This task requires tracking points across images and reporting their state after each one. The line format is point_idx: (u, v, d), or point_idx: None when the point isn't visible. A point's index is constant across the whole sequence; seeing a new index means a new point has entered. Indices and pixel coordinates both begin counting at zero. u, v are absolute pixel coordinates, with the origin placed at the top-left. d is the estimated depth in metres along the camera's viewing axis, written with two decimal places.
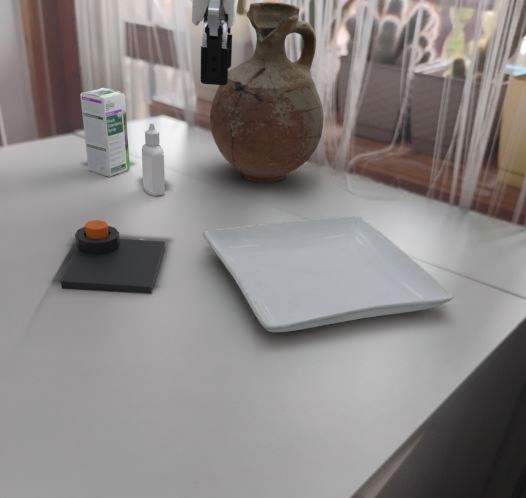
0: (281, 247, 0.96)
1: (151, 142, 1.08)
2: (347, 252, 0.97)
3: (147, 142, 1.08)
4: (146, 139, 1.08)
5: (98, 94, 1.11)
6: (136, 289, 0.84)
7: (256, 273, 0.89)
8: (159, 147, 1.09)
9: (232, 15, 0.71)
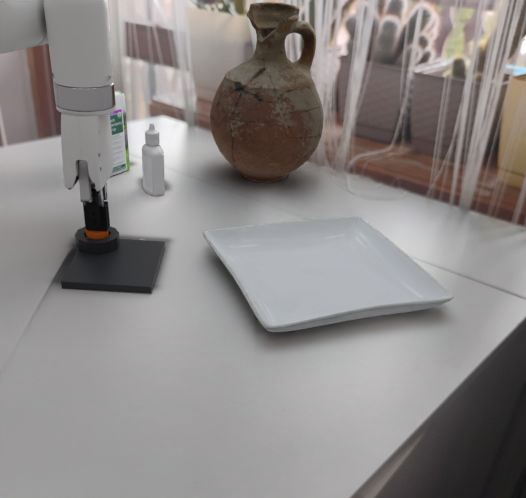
0: (281, 247, 0.96)
1: (151, 142, 1.08)
2: (347, 252, 0.97)
3: (147, 142, 1.08)
4: (146, 139, 1.08)
5: None
6: (136, 289, 0.84)
7: (256, 273, 0.89)
8: (159, 147, 1.09)
9: (98, 183, 0.83)
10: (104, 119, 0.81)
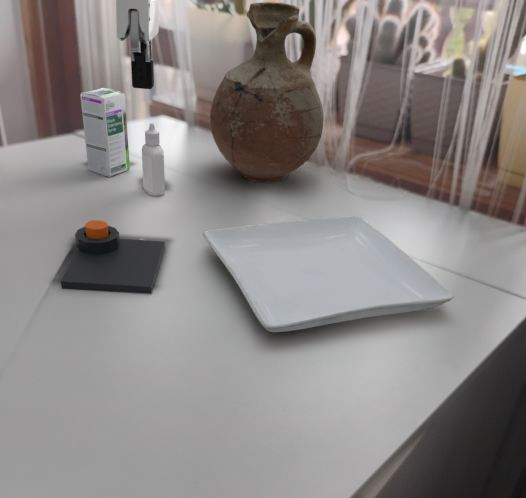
0: (281, 247, 0.96)
1: (151, 142, 1.08)
2: (347, 252, 0.97)
3: (147, 142, 1.08)
4: (146, 139, 1.08)
5: (98, 94, 1.11)
6: (136, 289, 0.84)
7: (256, 273, 0.89)
8: (159, 147, 1.09)
9: (147, 33, 0.92)
10: None
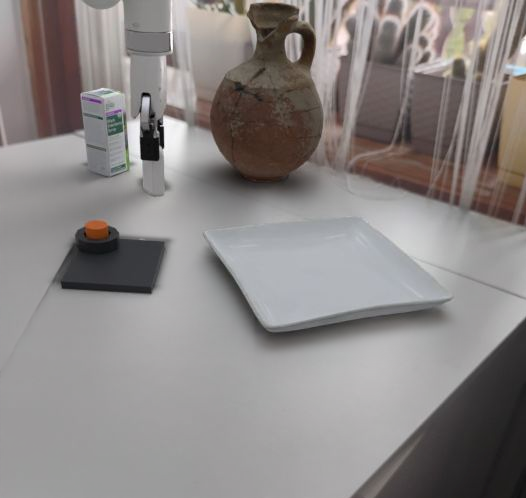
0: (281, 247, 0.96)
1: None
2: (347, 252, 0.97)
3: None
4: None
5: (98, 94, 1.11)
6: (136, 289, 0.84)
7: (256, 273, 0.89)
8: (159, 147, 1.09)
9: (158, 112, 1.02)
10: (164, 60, 1.01)
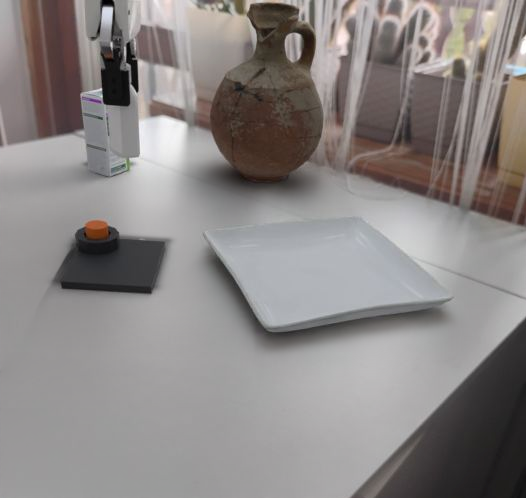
0: (281, 247, 0.96)
1: None
2: (347, 252, 0.97)
3: None
4: None
5: (98, 94, 1.11)
6: (136, 289, 0.84)
7: (256, 273, 0.89)
8: (131, 88, 0.77)
9: (126, 31, 0.70)
10: None
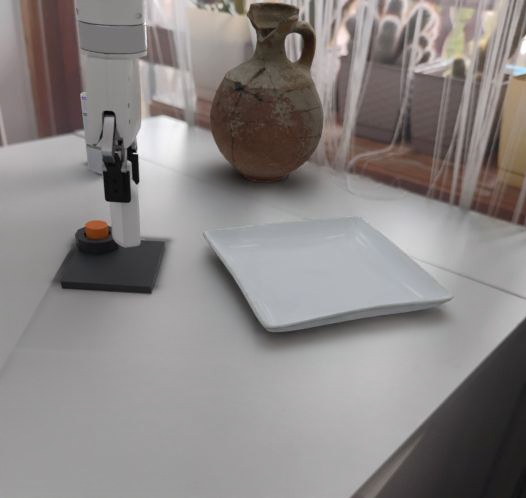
0: (281, 247, 0.96)
1: None
2: (347, 252, 0.97)
3: None
4: None
5: None
6: (136, 289, 0.84)
7: (256, 273, 0.89)
8: (132, 183, 0.80)
9: (127, 138, 0.73)
10: (134, 65, 0.72)
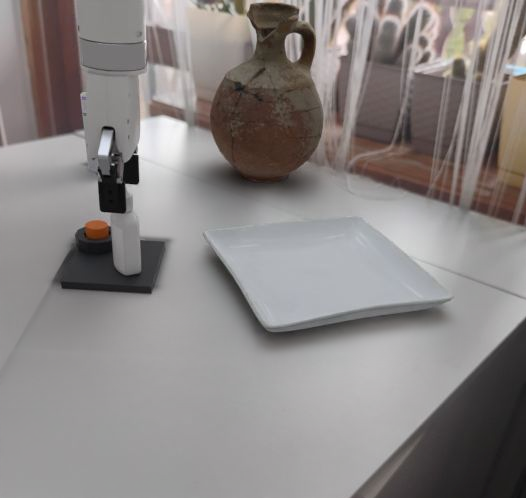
0: (281, 247, 0.96)
1: None
2: (347, 252, 0.97)
3: None
4: None
5: None
6: (136, 289, 0.84)
7: (256, 273, 0.89)
8: (133, 214, 0.82)
9: (126, 153, 0.74)
10: (134, 81, 0.73)
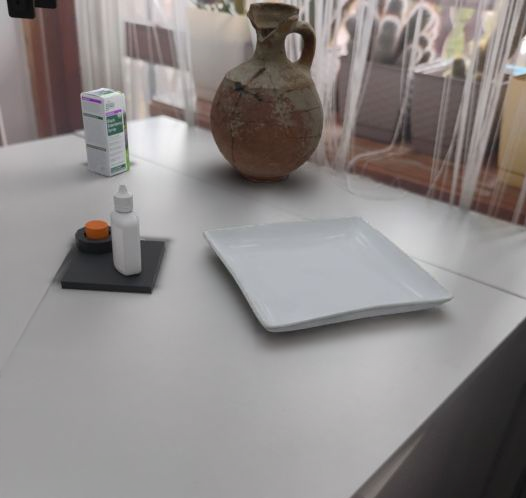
0: (281, 247, 0.96)
1: (122, 208, 0.81)
2: (347, 252, 0.97)
3: (116, 208, 0.82)
4: (115, 204, 0.82)
5: (98, 94, 1.11)
6: (136, 289, 0.84)
7: (256, 273, 0.89)
8: (133, 214, 0.82)
9: None
10: None
